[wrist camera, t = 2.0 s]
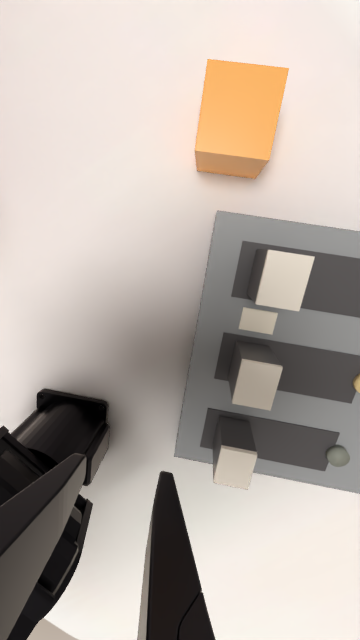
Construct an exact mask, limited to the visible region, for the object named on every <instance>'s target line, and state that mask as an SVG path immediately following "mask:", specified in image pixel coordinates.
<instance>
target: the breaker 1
mask: <svg viewBox="0 0 360 640" xmlns="http://www.w3.org/2000/svg"><path fill="white" fill-rule="evenodd" d="M314 258H315V257H313V256H307V255H300V254H294V253H287V252H281V251H274V250H265V249H257V251H256V255H255V259H254V264H253V268H252V273H251V277H250V282H249V286H248V291H247V294H248V296H249V297H250V298H251V299H252V300H253V301H254V303H255V304H257V305H263V306H269V307H275V308H281V309H287V310H293V311H299V310H300V307H301V303H302V300H303V296H304V293H305V289H306V286H307V283H308V279H309V276H310V272H311V269H312V265H313V262H314Z"/></svg>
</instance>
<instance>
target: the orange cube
mask: <svg viewBox="0 0 360 640" xmlns="http://www.w3.org/2000/svg"><path fill="white" fill-rule="evenodd" d="M288 70H289V68H282V67H273V66H265V65H256V64H247V63H238V62H229V61H221V60H212V59H208V60H207V67H206V74H205V81H204V88H203V95H202V102H201V109H200V117H199V124H198V131H197V138H196V145H195V157H196V166H197V171H202V172H209V173H217V174H224V175H231V176H239V177H246V178H254V179H256V178H257V176H258V175H259V174H260V172H261V171H262V169H263V168H264V167H265V165H266V164H267V163H268V161H269V158H270V154H271V149H272V145H273V140H274V135H275V131H276V126H277V121H278V117H279V112H280V107H281V103H282V98H283V93H284V89H285V84H286V79H287V75H288Z"/></svg>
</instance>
